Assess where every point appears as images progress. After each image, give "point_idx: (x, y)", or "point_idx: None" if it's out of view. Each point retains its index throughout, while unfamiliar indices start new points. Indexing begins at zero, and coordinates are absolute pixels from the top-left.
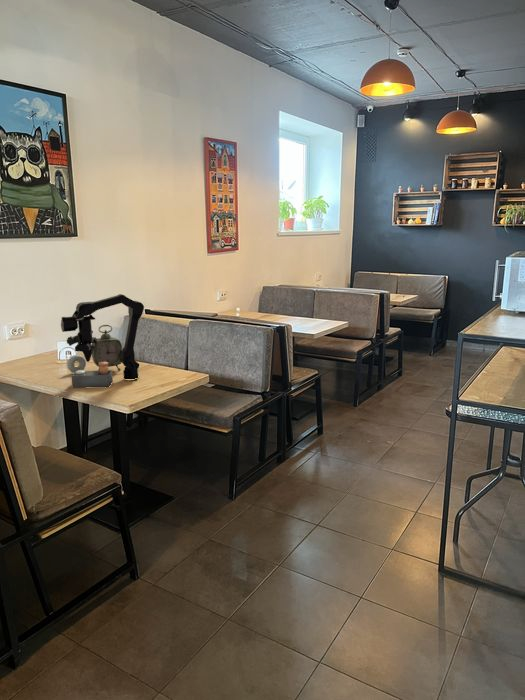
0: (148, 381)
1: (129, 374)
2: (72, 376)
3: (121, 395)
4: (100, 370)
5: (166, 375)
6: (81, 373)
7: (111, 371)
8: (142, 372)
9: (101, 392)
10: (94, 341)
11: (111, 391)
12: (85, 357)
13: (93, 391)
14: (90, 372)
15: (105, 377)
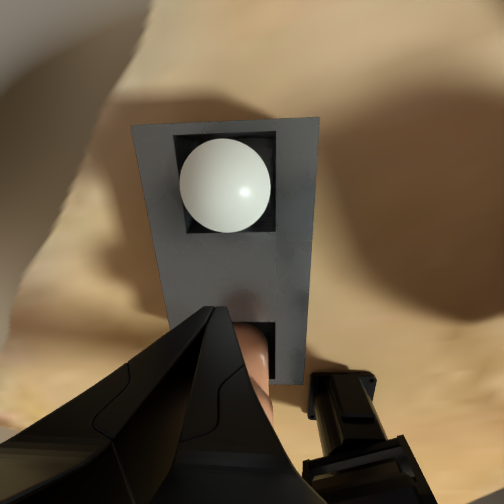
0: (290, 444)
1: (319, 420)
2: (135, 135)
3: (92, 384)
4: None
5: None
6: (189, 208)
7: (281, 383)
8: (455, 420)
9: (117, 310)
10: None
11: (139, 345)
12: (156, 346)
13: (127, 273)
14: (254, 264)
15: None
